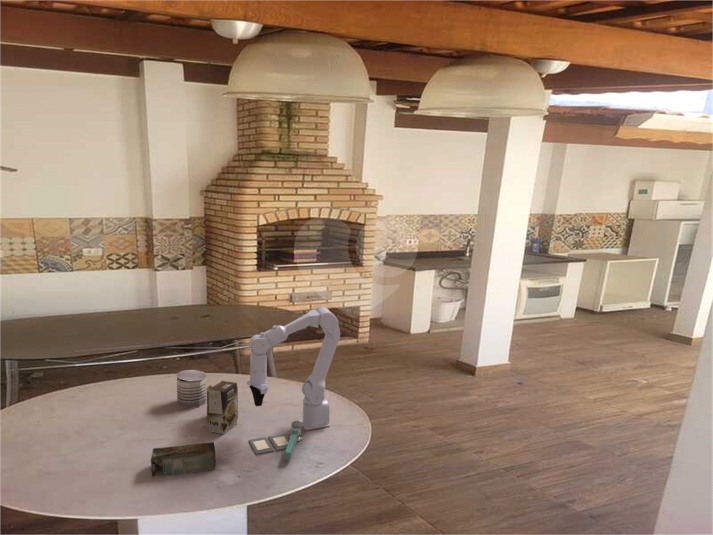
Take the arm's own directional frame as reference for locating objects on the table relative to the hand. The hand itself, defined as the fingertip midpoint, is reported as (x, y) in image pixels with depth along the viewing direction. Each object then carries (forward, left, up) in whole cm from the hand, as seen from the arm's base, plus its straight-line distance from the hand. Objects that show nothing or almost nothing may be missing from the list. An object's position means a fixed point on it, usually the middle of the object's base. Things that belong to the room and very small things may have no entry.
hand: (258, 405), depth 198 cm
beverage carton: (+28, +15, -10) cm, 33 cm away
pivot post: (-11, +10, -10) cm, 18 cm away
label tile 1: (+2, +11, -10) cm, 15 cm away
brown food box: (+10, -15, -10) cm, 20 cm away
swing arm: (-7, +17, -8) cm, 20 cm away
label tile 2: (-5, +11, -10) cm, 16 cm away
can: (+18, -33, -10) cm, 39 cm away
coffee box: (+11, -7, -10) cm, 16 cm away
